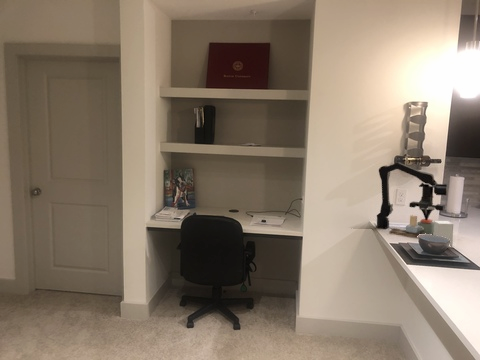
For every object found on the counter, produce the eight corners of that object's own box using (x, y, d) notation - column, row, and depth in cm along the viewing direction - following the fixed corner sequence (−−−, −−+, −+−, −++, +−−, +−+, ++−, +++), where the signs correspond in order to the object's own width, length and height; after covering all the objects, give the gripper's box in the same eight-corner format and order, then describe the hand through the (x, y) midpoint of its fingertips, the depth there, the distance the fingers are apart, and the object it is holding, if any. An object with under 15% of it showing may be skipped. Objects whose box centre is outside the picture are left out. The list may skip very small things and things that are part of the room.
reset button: (420, 230, 223) (420, 220, 222) (423, 228, 227) (423, 218, 226) (429, 231, 219) (429, 221, 219) (431, 229, 223) (432, 219, 222)
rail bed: (389, 233, 223) (389, 226, 223) (393, 230, 228) (394, 224, 228) (420, 238, 211) (421, 231, 210) (424, 235, 216) (425, 229, 215)
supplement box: (452, 247, 193) (453, 224, 191) (437, 247, 194) (438, 223, 193) (447, 243, 200) (448, 220, 198) (433, 243, 201) (434, 220, 200)
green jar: (416, 232, 223) (417, 222, 222) (420, 230, 228) (421, 220, 228) (431, 234, 218) (431, 224, 217) (434, 232, 223) (435, 222, 222)
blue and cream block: (405, 231, 216) (406, 216, 215) (409, 228, 221) (410, 214, 220) (416, 232, 212) (417, 217, 211) (420, 230, 217) (421, 215, 216)
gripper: (406, 194, 221) (405, 220, 223) (440, 197, 208) (439, 224, 210) (413, 192, 229) (412, 217, 231) (446, 195, 216) (444, 221, 218)
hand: (426, 220), depth 222 cm, fingers closed, pressing on reset button
